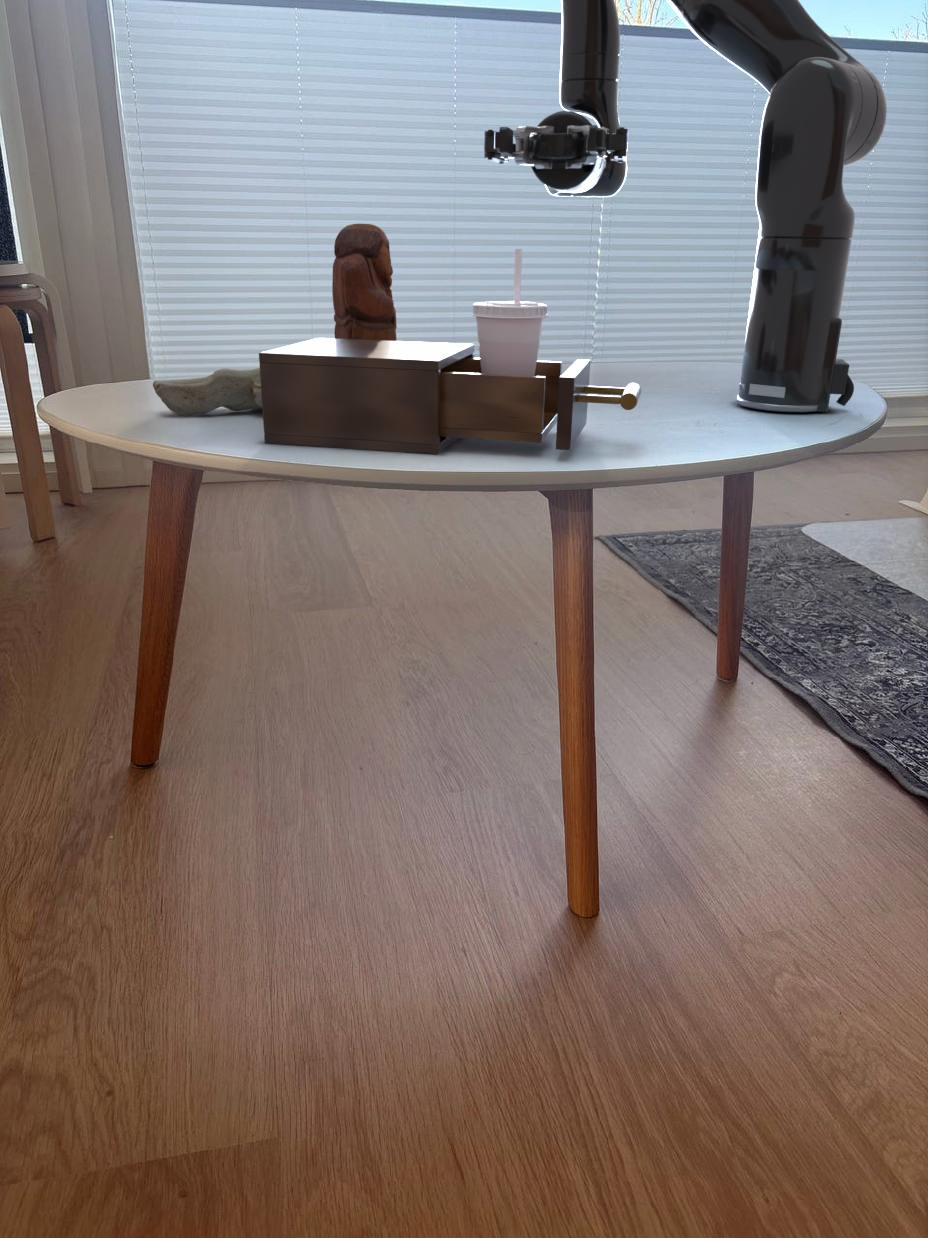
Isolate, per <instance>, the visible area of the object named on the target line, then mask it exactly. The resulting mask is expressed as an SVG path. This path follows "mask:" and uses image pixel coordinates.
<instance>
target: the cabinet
mask: <svg viewBox="0 0 928 1238" xmlns="http://www.w3.org/2000/svg"><path fill="white" fill-rule="evenodd" d="M463 358H475V344H474V343H455V342H432V341H410V340H409V341H407V340H406V341H405V340H397V341H385V340H361V339H336V338H335V337H315V338H311V339H308V340H304V341H300V342H296V343H292V344H288V345H284V346H281V347H277V348H273V349H268V350H264V351H261V352H260V351H259V352H258V363H259V368H260V380H261V395H262V409H261V410H262V423H263V425H262V426H263V433H264V434H263V437H264V438H263V439H264V440H263V441H264V444H276V445H289V446H304V447H305V446H307V447H322V448H337V449H353V450H365V451H367V450H368V451H381V452H396V453H397V452H399V453H411V454H428V455H439V454H440V453H441V452H442V451H443V450H445V449H446V448H447V447H448V446H450V445H451V444H452V443H454V441H456V440H457V439H458V438H450V437H440V384H441V371H440V370H441V369H443V368H445V367H447V366H449V365H451V364H453V363H455V362H457V361H459V360H461V359H463Z"/></svg>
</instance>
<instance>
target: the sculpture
mask: <svg viewBox="0 0 928 1238" xmlns="http://www.w3.org/2000/svg"><path fill="white" fill-rule="evenodd" d="M152 387H153V390H154V392H155V394H156V395H157V397H159V398H160V400H161V402H162V403H163V404H164V405H165V407H167V409H168V410H169V411H171V412H173V413H175V414H178V415H180V416H195V415H202V414H206V413H209V412H212V411H214V410H217V409H219V408H225V409H227V410H229V411H232V412H241V411H242V412H243V411H248V410H262V395H261V380H260V367H256V368H248V369H233V368H220V369H217V370H215V371H214V372H213V373H212V374H210V375H207V376H201V377H194V378H181V379H180V378H179V379H156V380H154V381H153V382H152Z"/></svg>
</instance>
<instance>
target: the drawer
mask: <svg viewBox="0 0 928 1238" xmlns="http://www.w3.org/2000/svg"><path fill="white" fill-rule="evenodd" d="M562 367H563V361H555V360H553V361H552V360H537V363H536V369H535V376H525V375H504V374H483V373H481V363H480V357H474V358H463V359H461V360H459V361H457V362H455V363H453V364H451V365H449V366H447V367H445V368H443V369H441V370H440V371H441V384H440V437H450V438H457V439H466V440H467V439H468V440H482V441H483V440H487V441H498V442H499V441H501V442H514V443H515V442H516V443H532V444H541V443H542V442H543V441H544V440H545V439H546V437H547V436H548V435H549V433H550V432H551V431H552V429H553V428H554V427H555V425H556V435H555V450H557V451H571V450H572V448H573V447H574V444H575V443H576V442H577V440H578V438H579V436H580V435H581V433H582V431H583V430H584V428H585V426H586V424H587V419H588V403H589V404H604V405H605V404H608V405H620V407H621V408H622V409H623V410H626V411H631V410H633V409H635V408H636V407H637V404H638V402H639V399H640V396H641V393H642V388H641V386H640V385H639V384H638V383H636V382H631V383H628V384H627V385H626V386H625V387H622V386H620V387H619V386H603V385H600V386H599V385H589V384H590V374H591V372H590V371H591V359H581V358H580V359H579V358H577V359H576V360H575V361H574V362H573V363H572V364H571V365H570V366H569V367H568V368H567V369H566V370H565V371H564V372H563V373H562V369H563V368H562Z"/></svg>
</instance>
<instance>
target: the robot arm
mask: <svg viewBox="0 0 928 1238" xmlns="http://www.w3.org/2000/svg"><path fill="white" fill-rule="evenodd" d="M666 2H667V3H668V5H670V7H671V8H672V10H674V12H675V13H676V14H677V16H678V17H679V18H680V19H681V20H682V22H683V23H684V24H685V25H686V26H687V28H688V29H689V30H690V31H691V32H692V33H693V34H694V35H695V36H696V37H697V38H698V39H699V40H700V41H701V42H702V43H704V44H705V45H706V46H708V47H709V49H711V50H713V51H714V52H716V53H717V54H718V55H719V56H721V57H723V58H724V59H725V60H727V62H729V63H731V64H732V65H734V66H735V67H737V68H738V69H739V70H741V71H742V72H744V73H746V74H747V75H748V76H749V77H751V78H752V79H754V80H755V81H756V82H758V84H760V85H761V87H763V89H765V91H767V93H768V94H769V95H768V97H767V100H766V102H765V106H764V110H763V114H762V120H761V126H760V134H759V143H758V147H759V148H758V154H757V155H758V156H757V170H756V182H755V207H756V212H757V215H758V221H759V229H758V238H757V244H756V252H755V253H756V254H755V262H754V270H753V278H752V286H751V293H750V300H749V308H748V318H747V325H746V333H745V341H744V349H743V355H742V365H741V372H740V381H739V385H738V394H737V397H736V404H738V405H739V406H741V407H745V408H748V409H753V410H760V411H768V412H779V413H813V412H817V413H818V412H819V413H823V412H824V413H827V412H828V410H829V405H830V400H831V399H830V398H831V395H840V396H839V397H838V398H837V400H836V403H837V404H838V405H841V406H843V407H845V406H846V405H847V404H848V402H849V401H850V400H851V398H852V397H853V396H854V391H855V384H854V382H853V380H852V378H851V377H850V375H849V370H850V364H849V363H848V362H846V361H845V360H844V359H843V358H837V356H838V350H839V344H840V337H841V330H842V324H843V319H842V318H841V317H840V314H841V308H842V302H843V296H844V289H845V285H846V277H847V271H848V265H849V258H850V253H851V246H852V238H853V235H854V234H853V233H854V228H855V220H856V213H855V210H854V208H853V206H852V205H851V204H850V202H849V201H848V199H847V198H846V195H845V190H844V185H843V176H844V166H847V165H851V164H854V163H856V162H858V161H860V160H861V159H863V158H865V157H866V156H867V155H868V154H869V153H871V152H872V151H873V150H874V149H875V147H876V146H877V145H878V143H879V141H880V139H881V137H882V136H883V133H884V129H885V126H886V122H887V113H888V111H887V110H888V109H887V100H886V99H887V98H886V96H885V92H884V89H883V86H882V85H881V82H880V81H879V80H878V78H877V77H876V75H875V74H874V73H873V72H872V71H870V70H869V69H868V68H867V67H866V66H865V65H863V63H861V62H860V61H858V60H857V59H856V58H855V57H854V56H853V55H851V54H850V53H849V52H848V51H847V50H845V49H844V47H842V46H841V45H840V44H839V43H838V42H836V41H835V39H833V38H832V37H831V36H830V35H829V34H827V33H826V31H825V30H824V29H822V27H820V26H819V25H818V23H816V21H815V20H814V19H813V18H812V16H811V15H810V14H809V13H808V12H807V11H806V10H807V9H805V8H804V6H803V5H802V3H801V2H800V0H666ZM560 3H561V40H560V41H561V42H560V43H561V44H560V67H559V68H560V69H559V91H558V92H559V93H558V94H559V96H558V97H559V104H560V106H561V108H562V109H563V110H559V111H556V112H553V113H551V114H549V115H547V116H546V117H544V118H543V119H542V120H541V121H540V122H539V123H538V124H537V126H529V125H525V126H517V128H516V129H515V130H513V129H511V128H510V127H509V126H499V131H496V130H494V129H487V130H485V131H484V132H483V133H484V134H483V135H484V137H483V141H484V142H483V158H484V159H485V160H487V161H491V162H494V163H498V164H499V165H504V164H505V163H508V162H509V161H510V159H511V160H514V162H515V164H516V165H518V166H529V167H530V168H531V171H532V173H533V174H534V175H535V177H536V179H538V180H539V181H540V182H541V183H542V184H543V185H544V186H545V188H546V190H547V192H548V193H549V194H550V195H551V196H555V197H566V198H567V197H568V198H569V197H570V198H571V197H572V198H575V197H576V198H609V197H613V196H615V195H617V193H618V192H619V191H620V190H621V189H622V187H623V185H624V183H625V181H626V178H627V173H628V164H627V159H628V157H627V156H628V143H629V142H628V141H629V129H628V128H625V127H624V126H621V125H620V118H619V117H620V116H619V106H618V105H619V104H618V85H619V83H618V80H619V68H620V53H621V52H620V51H621V29H620V21H619V20H620V19H619V17H618V16H619V15H618V10H617V7H616V3H615V0H560ZM585 116H587V117H588V118H591V119H593V120H594V121H595V122H596V124H592V122H591V121H590V120H589V119H588V118H586V117H585ZM514 139H515V143H514Z"/></svg>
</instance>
